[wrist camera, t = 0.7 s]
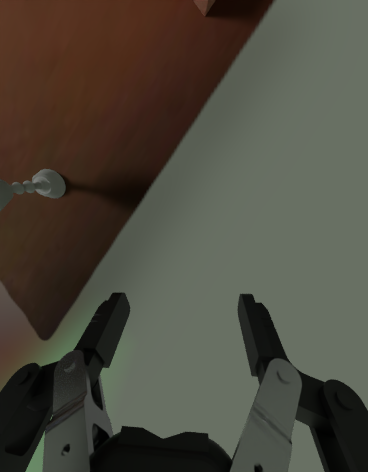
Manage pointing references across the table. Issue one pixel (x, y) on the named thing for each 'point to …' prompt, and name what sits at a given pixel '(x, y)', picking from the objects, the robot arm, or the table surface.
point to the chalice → (34, 186)
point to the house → (204, 5)
